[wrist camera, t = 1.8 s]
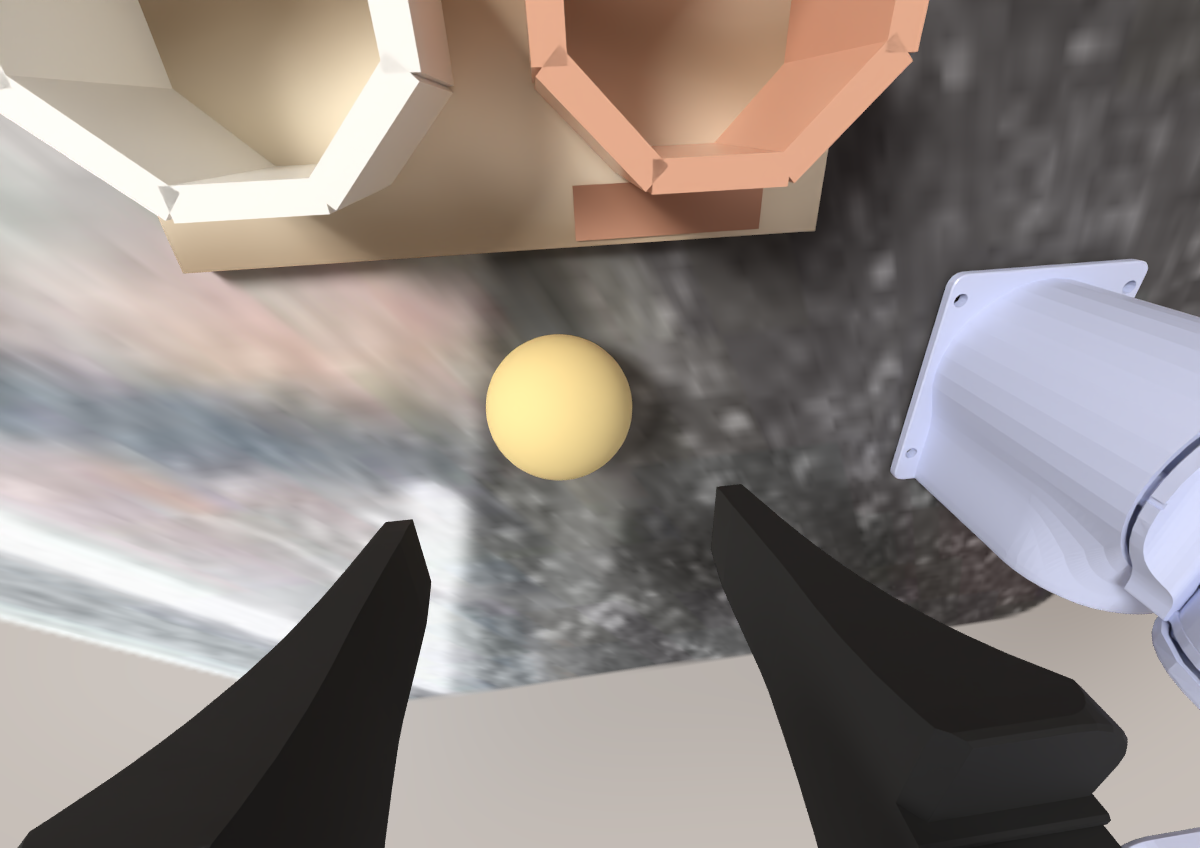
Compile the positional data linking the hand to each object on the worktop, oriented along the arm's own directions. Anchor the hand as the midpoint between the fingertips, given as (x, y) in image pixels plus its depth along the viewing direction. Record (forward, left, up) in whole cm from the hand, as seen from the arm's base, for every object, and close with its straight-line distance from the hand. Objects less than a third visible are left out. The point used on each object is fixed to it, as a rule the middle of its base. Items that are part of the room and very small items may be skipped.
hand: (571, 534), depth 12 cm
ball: (0, 0, -6) cm, 6 cm away
